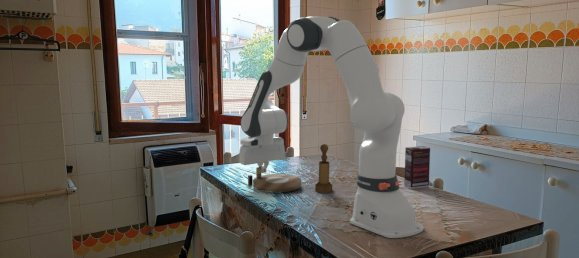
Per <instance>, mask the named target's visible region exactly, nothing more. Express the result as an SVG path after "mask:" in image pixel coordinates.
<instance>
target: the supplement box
mask: <svg viewBox="0 0 579 258" xmlns="http://www.w3.org/2000/svg"><path fill="white" fill-rule="evenodd" d="M404 153H405V155H404V157H405V159H404V180H403V181H404V182H403V183H404V186H403V187H405V188H408V189H409V190H415V189H425V188H429V187H430V168H431V167H430V165H431V162H430V161H431V148H430V147H428V146H425V145H424V146H423V145H421V146H409V147H408V146H407V147H405V152H404Z"/></svg>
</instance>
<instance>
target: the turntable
mask: <svg viewBox="0 0 579 258" xmlns="http://www.w3.org/2000/svg"><path fill="white" fill-rule="evenodd" d="M255 169H256V170H255V171H256V172H255V174H256V177H254V178H253V185H252V186H253V189H255V190H257V191H261V192H266V193H285V192H292V191H295V190H298V189H300V188H301V187H302V178H301V177H299V176H297V175H292V174H286V173H285V174H284V173H272V174H270V173H269V174H262V173H261V167H259V166H258V167H256V168H255Z"/></svg>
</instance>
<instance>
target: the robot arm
mask: <svg viewBox="0 0 579 258" xmlns="http://www.w3.org/2000/svg"><path fill="white" fill-rule="evenodd" d="M324 51H328V52H329V54H330V55H331V57H332V60H333V62H334V64H335V66H336V68H337V70H338V73H339V74H340V76H341V80H342V81H343V84H344V86H345V89H346V93H347V98H348V101H349V105H350V110H349V111H350V112H349V117H350V121H351V123H352V125H353V127H355V128H356V129H357V130H358V131H361V132H363V133H364V135H363V138H362V142H361V144H360V146H359V151H358V153H359V154H358V173H357V174H356V175H357V176H356V185H357V191H356V193H355V195H354V202H353V209H352V216H351V218H350V219H349V223H350V224H351V225H354V226H356V227H358V228H361V229H364V230H367V231H369V232H372V233H374V234H377V235H379V236H382V237H385V238H388V239H398V238H401V239H402V238H406V237H412V236H416V235H418V234H420V233H422V232H423V231H424V229H425V228H424V225H423V224H421V223H419V222H418V221H416V211H415V208H414V207H413V205H412V203H411V202H410V201H409V200H408V199H407V198H406V196H405V195H404V193H402V192H401V190H400V186H401V185H402V182H403V181H402V180H398V176H397V174H396V171H397V170H396V165H397V150H398V149H397V148H398V143H399V139H400V133H401V128H402V122H403V116H404V114H405V110H406V108H405V104H404V102H403V100H402V99H401V98H400V97H399V96H397V95H396V94H393V93H391V92H385V91H384V89H383V86H382V83H381V78H380V69H379V67H378V64H377V62H376V60H375V59H374V56H373V54H372V52H371V50H370V49H369V46H368V44H367V42H366V41H365V38H364V37H363V35H362V34H361V32H360V31H359V29H358V28H357V26H355V25H354V23H353V22H352V21H350V20H347V19H343V20H342V19H341V20H340V19H339V18H337V17H333V16H318V15H315V16H306V17H298V18H296V19H294V20H292V21H291V22H290V23H289V25H288V27H287V28H286V29H285V30H284V31H283V32H282V34H281V36H280V39H279V41H278V44H277V47H276V50H275V54H274V58H273V59H272V62H271V64H270V65H269V67H268V68H267V69H266V70H265V71H263V72H262V73H261V75H260V77H259V79H258V81H257V83H256V86H255V87H254V90H253V92H252V95H251V98H250V101H249V103H248V104H247V105H248V106H247V108H246V109H245V111H244V112H243V114H242V116H241V119H240V127H241V128H240V129H241V131H242V132H243V133H244V134H245V135H246V137H243V138H242V139H240V145H241V146H240V147H239V154H238V155H239V156H238V157H239V158H238V161H239V163H240V164H241V165H243V166H249V165H255V164H256V165H257V166H258V167H261V174H265V173H267V171H268V170H267V168H268V167H269V165H270V162H274V161H279V160H284V159H285V157H286V150H285V149H286V148H285V141H284V138H283V137H281V136H278V137H276V136H275V134H276V135H277V134H281V133H284V132H285V131H286V130H287V129H288V126H289V121H290V120H289V116H288V114H287V111H286V110H285V109H282V108H279V107H278V106H276V105H275V104H274V102H273V100H272V99H270V98H269V97H270V95H272V94H273V93H274V92H276V91H277V90H278V89H281V88H283V87H286V86H289V85H292V84H294V83H295V82H296V81H298V80H299V79H300V78H301V76H302V75H303V73H304V70H305V67H306V64H307V62H306V61H307V59H308V55H309V53H310V52H324ZM274 136H275V137H274Z"/></svg>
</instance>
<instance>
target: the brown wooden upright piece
mask: <svg viewBox="0 0 579 258" xmlns="http://www.w3.org/2000/svg"><path fill="white" fill-rule="evenodd" d="M319 149H320V151H321V157H320V158H321V161H319V162H318V182H316V184H315V188H314V189H315V192H316V193H321V194H328V193H332V192H333V184H331V182H330V161H327V159H328V156H327V152H328V151H329V146H328V144H325V143H324V144H321V145H320V147H319Z"/></svg>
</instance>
